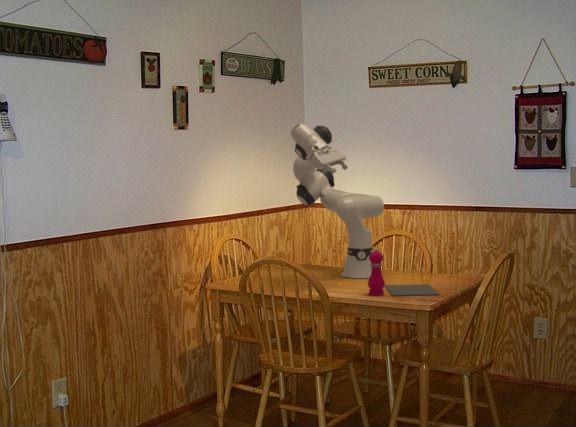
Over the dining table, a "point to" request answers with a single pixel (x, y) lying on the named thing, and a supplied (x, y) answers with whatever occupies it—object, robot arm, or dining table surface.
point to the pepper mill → (376, 274)
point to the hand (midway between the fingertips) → (340, 170)
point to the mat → (411, 290)
